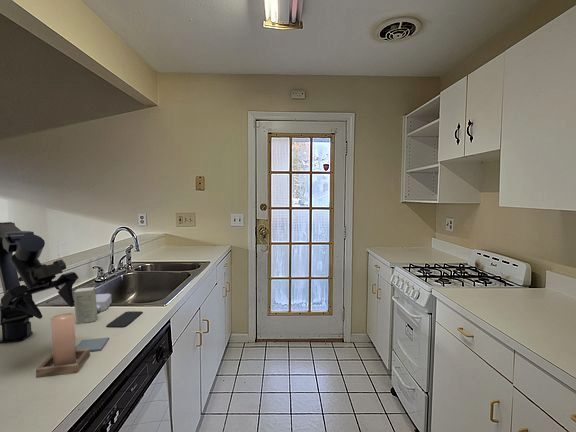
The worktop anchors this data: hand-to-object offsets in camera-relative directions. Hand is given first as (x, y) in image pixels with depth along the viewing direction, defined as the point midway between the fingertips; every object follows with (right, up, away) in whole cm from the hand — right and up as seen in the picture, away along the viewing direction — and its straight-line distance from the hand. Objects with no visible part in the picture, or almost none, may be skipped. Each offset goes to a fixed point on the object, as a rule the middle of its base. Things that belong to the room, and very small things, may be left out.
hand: (57, 311), depth 92 cm
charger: (-13, -12, +39) cm, 42 cm away
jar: (+5, -14, -4) cm, 15 cm away
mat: (+5, -13, +8) cm, 16 cm away
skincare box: (-9, -12, +28) cm, 32 cm away
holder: (+5, -14, -4) cm, 15 cm away
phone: (+5, -12, +29) cm, 32 cm away
